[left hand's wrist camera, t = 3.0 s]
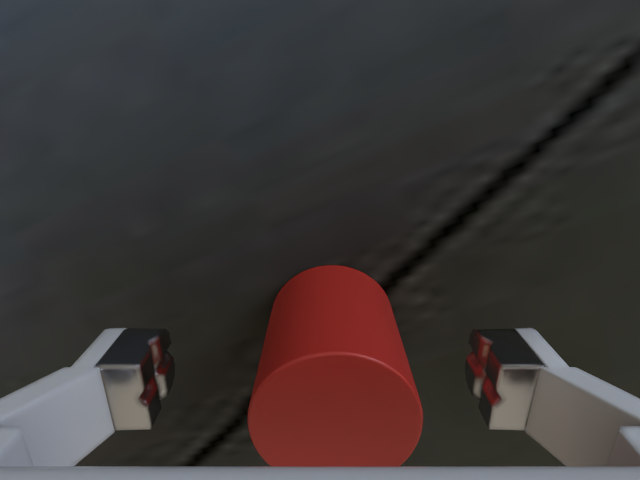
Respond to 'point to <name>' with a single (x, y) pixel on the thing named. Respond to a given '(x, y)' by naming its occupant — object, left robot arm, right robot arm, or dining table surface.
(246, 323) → the dining table surface
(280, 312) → the can
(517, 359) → the left robot arm
